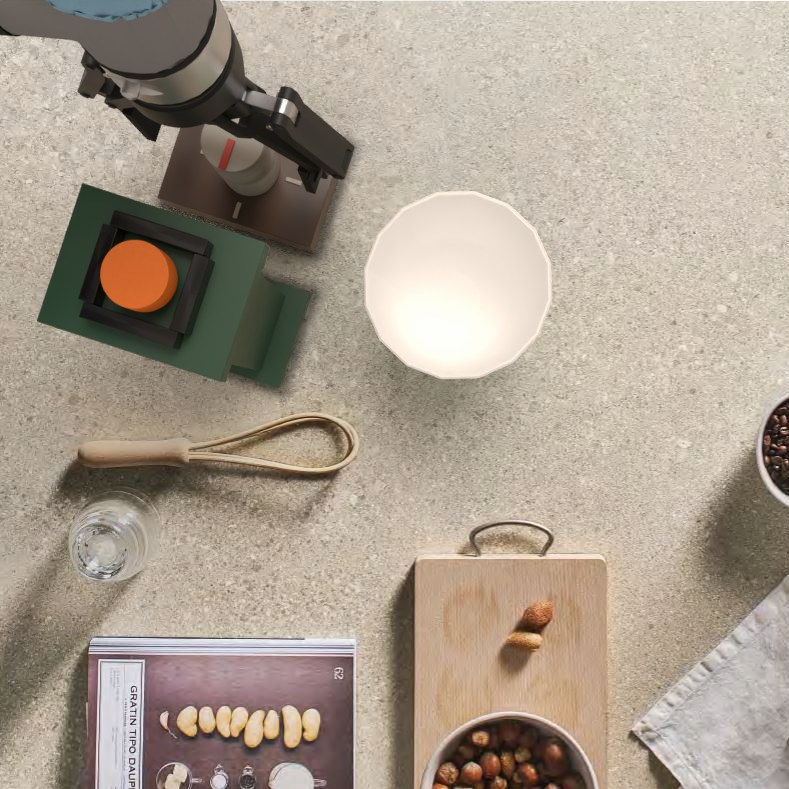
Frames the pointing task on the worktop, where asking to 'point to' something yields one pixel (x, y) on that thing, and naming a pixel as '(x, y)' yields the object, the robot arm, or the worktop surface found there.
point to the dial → (240, 160)
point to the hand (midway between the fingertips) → (236, 151)
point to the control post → (177, 293)
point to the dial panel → (248, 213)
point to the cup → (457, 285)
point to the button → (138, 276)
